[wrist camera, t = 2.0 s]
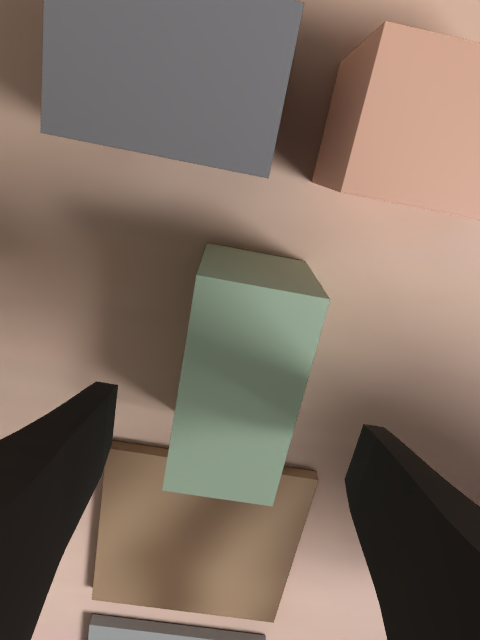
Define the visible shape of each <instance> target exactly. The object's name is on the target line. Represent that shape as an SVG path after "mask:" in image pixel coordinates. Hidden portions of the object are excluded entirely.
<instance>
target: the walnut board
mask: <svg viewBox="0 0 480 640" xmlns="http://www.w3.org/2000/svg"><path fill="white" fill-rule="evenodd" d="M168 451H169V449H165V448H159V447H152V446H146V445H139V444H133V443H126V442H119V441H113V440H112V446H111V449H110V452H109V455H108V458H107V461H106V464H105V468H104V478H103V489H102V499H101V510H100V520H99V530H98V541H97V551H96V561H95V572H94V582H93V593H92V600H98V601H106V602H114V603H122V604H130V605H138V606H146V607H154V608H162V609H170V610H178V611H186V612H194V613H202V614H210V615H217V616H225V617H233V618H241V619H249V620H257V621H265V622H273V623H274V619H275V616H276V613H277V610H278V607H279V604H280V600H281V597H282V594H283V591H284V588H285V585H286V582H287V578H288V575H289V572H290V569H291V566H292V563H293V559H294V556H295V553H296V550H297V547H298V544H299V540H300V537H301V534H302V531H303V528H304V525H305V522H306V518H307V515H308V512H309V509H310V506H311V503H312V499H313V496H314V493H315V490H316V487H317V484H318V481H319V480H318V476H317V472H316V471H310V470H303V469H297V468H290V467H283V471H282V474H281V478H280V481H279V485H278V489H277V492H276V496H275V500H274V503H273V507H272V506H265V505H259V504H252V503H245V502H238V501H231V500H224V499H217V498H210V497H203V496H196V495H189V494H182V493H175V492H168V491H162V489H163V483H164V476H165V470H166V464H167V457H168Z"/></svg>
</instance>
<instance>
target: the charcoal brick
mask: <svg viewBox="0 0 480 640" xmlns="http://www.w3.org/2000/svg"><path fill="white" fill-rule="evenodd" d="M303 7H304V2H300V1H296V0H44V6H43V49H42V92H41V133H44V134H49V135H54V136H59V137H64V138H69V139H74V140H79V141H84V142H89V143H94V144H99V145H104V146H109V147H114V148H119V149H124V150H129V151H134V152H139V153H144V154H149V155H154V156H159V157H164V158H169V159H174V160H179V161H184V162H189V163H194V164H199V165H204V166H209V167H214V168H219V169H224V170H229V171H234V172H239V173H244V174H249V175H254V176H259V177H264V178H269V174H270V169H271V164H272V160H273V155H274V150H275V145H276V140H277V135H278V130H279V125H280V120H281V115H282V110H283V105H284V100H285V95H286V91H287V86H288V81H289V76H290V71H291V66H292V61H293V56H294V51H295V46H296V41H297V36H298V31H299V27H300V22H301V17H302V12H303Z"/></svg>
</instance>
